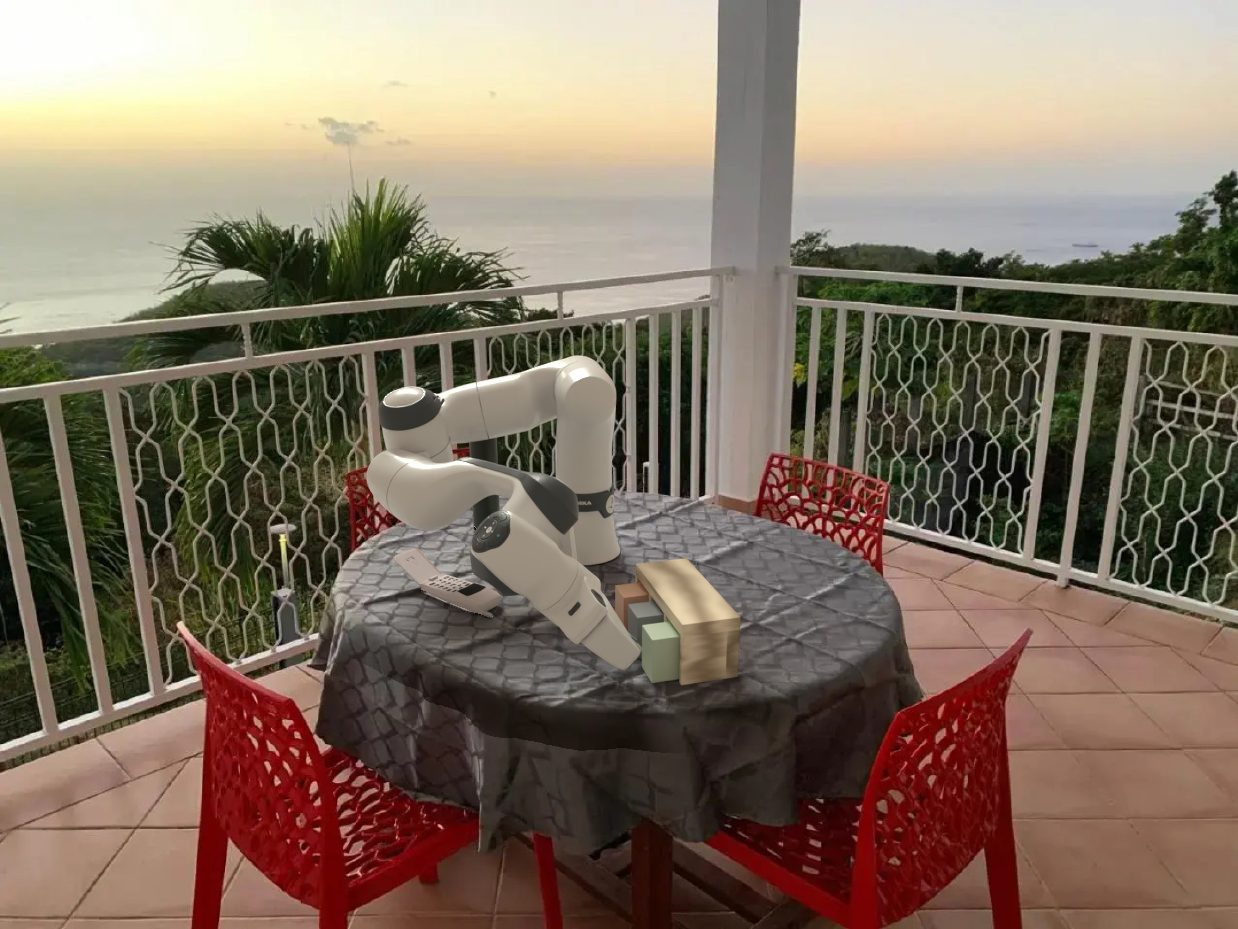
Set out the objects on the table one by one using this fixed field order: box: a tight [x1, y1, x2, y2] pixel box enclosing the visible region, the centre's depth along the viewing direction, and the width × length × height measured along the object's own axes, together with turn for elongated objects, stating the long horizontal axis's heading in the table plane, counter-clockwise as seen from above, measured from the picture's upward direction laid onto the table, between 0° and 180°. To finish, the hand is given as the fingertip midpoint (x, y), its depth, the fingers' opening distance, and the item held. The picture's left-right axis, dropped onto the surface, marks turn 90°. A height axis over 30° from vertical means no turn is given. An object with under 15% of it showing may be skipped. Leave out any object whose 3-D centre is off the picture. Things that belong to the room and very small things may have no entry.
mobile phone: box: [392, 546, 502, 619], centre depth 162 cm, size 6×6×25 cm
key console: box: [634, 557, 741, 686], centre depth 143 cm, size 9×23×10 cm, turn 16°
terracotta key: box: [614, 582, 649, 631], centre depth 149 cm, size 7×5×7 cm
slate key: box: [628, 601, 664, 660], centre depth 142 cm, size 7×5×7 cm
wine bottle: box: [468, 436, 501, 528], centre depth 192 cm, size 6×6×30 cm
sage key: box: [641, 622, 680, 684], centre depth 135 cm, size 7×5×7 cm
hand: (636, 649), depth 134 cm, fingers closed
